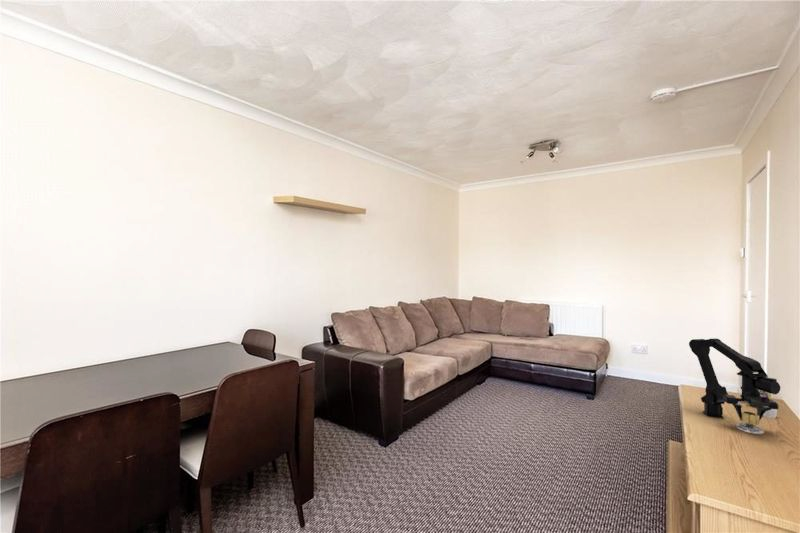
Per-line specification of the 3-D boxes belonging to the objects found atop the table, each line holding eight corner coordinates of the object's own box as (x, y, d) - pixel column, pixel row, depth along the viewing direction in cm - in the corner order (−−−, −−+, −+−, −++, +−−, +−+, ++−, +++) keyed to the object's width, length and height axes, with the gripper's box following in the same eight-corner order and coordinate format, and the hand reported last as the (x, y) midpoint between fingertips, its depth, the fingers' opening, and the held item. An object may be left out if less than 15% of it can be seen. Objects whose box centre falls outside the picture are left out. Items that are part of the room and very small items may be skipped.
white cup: (769, 413, 194) (769, 400, 194) (781, 419, 187) (782, 405, 187) (755, 412, 195) (755, 399, 195) (767, 418, 188) (767, 404, 188)
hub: (742, 432, 172) (742, 418, 172) (730, 423, 182) (730, 410, 182) (769, 435, 169) (769, 421, 169) (755, 426, 179) (755, 413, 179)
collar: (743, 423, 174) (743, 414, 174) (737, 417, 180) (737, 409, 180) (761, 425, 171) (761, 417, 171) (754, 420, 177) (754, 411, 177)
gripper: (732, 389, 171) (732, 423, 172) (785, 395, 164) (785, 430, 164) (722, 382, 182) (721, 413, 182) (772, 387, 174) (771, 420, 175)
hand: (749, 419), depth 175 cm, fingers closed on collar, 6 cm apart
